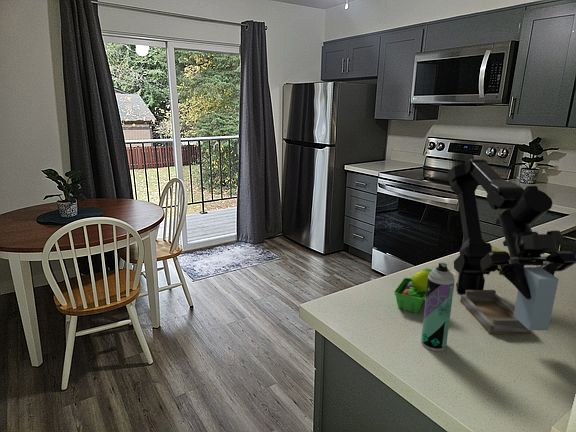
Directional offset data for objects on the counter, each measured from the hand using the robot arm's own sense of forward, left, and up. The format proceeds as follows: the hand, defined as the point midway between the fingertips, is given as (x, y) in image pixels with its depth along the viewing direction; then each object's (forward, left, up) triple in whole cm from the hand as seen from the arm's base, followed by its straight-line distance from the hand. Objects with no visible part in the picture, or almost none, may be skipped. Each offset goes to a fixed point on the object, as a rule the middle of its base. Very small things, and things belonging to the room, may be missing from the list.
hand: (539, 298), depth 82 cm
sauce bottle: (+6, +45, -10) cm, 47 cm away
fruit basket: (-25, +14, -14) cm, 32 cm away
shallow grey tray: (-5, +15, -13) cm, 20 cm away
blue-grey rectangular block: (0, +1, -7) cm, 7 cm away
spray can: (-20, -4, -14) cm, 24 cm away
